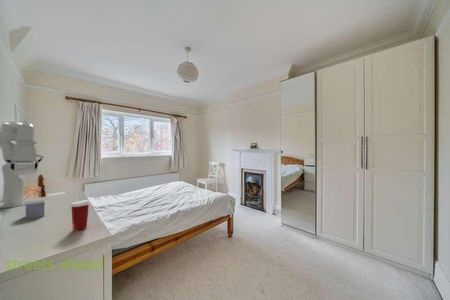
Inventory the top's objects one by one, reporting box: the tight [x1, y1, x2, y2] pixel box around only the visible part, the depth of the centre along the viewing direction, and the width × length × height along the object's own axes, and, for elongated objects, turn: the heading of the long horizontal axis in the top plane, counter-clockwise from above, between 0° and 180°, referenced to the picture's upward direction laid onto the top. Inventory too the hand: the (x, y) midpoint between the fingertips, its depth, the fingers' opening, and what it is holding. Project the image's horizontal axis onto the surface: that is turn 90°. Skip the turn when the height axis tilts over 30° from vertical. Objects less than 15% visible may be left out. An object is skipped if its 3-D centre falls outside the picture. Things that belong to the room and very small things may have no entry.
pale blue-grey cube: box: [25, 199, 45, 221], centre depth 110 cm, size 8×8×9 cm
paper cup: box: [70, 199, 90, 232], centre depth 93 cm, size 8×8×14 cm
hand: (24, 169), depth 116 cm, fingers open, 9 cm apart
